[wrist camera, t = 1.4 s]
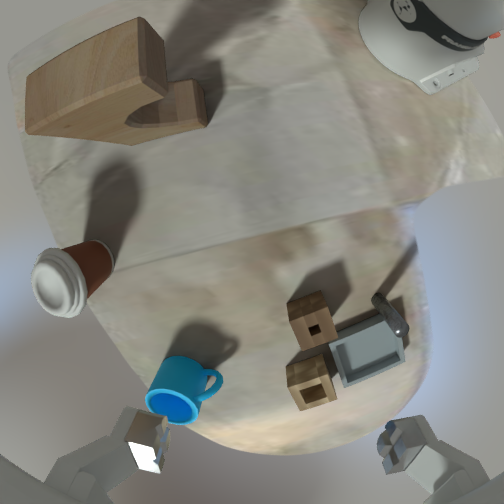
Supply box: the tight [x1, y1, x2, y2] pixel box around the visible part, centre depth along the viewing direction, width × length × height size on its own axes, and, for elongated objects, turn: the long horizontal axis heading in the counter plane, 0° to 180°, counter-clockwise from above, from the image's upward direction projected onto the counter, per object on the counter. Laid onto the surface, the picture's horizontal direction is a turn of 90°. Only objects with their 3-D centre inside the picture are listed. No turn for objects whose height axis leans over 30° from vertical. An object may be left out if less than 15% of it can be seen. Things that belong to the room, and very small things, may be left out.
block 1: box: [287, 290, 338, 351], centre depth 36 cm, size 5×5×5 cm
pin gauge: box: [371, 293, 409, 338], centre depth 33 cm, size 2×2×9 cm
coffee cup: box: [31, 240, 114, 318], centre depth 32 cm, size 9×9×12 cm
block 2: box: [286, 354, 337, 411], centre depth 39 cm, size 6×6×5 cm
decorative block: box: [25, 17, 208, 146], centre depth 22 cm, size 11×6×20 cm, turn 97°
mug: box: [145, 356, 223, 425], centre depth 39 cm, size 12×8×8 cm
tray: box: [328, 313, 405, 388], centre depth 39 cm, size 11×10×2 cm
